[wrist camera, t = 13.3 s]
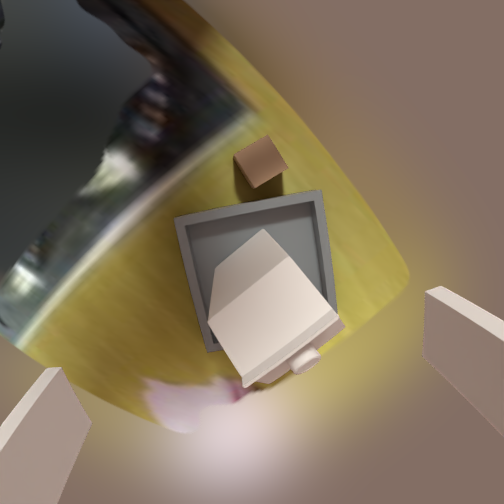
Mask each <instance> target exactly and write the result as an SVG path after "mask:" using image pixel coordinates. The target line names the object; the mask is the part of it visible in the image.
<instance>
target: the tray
mask: <svg viewBox="0 0 504 504" xmlns="http://www.w3.org/2000/svg"><path fill="white" fill-rule="evenodd" d="M174 223H175V228H176V232H177V237H178V241H179V245H180V250H181V254H182V258H183V262H184V267H185V271H186V275H187V279H188V283H189V287H190V291H191V295H192V299H193V302H194V306H195V310H196V314H197V317H198V321H199V325H200V328H201V332H202V336H203V339H204V343H205V346H206V350H207V353H208V352H213V351H219V350H224V349H223V347H222V346H221V344H220V343H219V341H218V339H217V338H216V336H215V334H214V333H213V331H212V329H211V328H210V326H209V324H208V323H207V322H208V316H209V309H210V301H211V294H212V287H213V279H214V272H215V268H216V267H217V266H218V265H219V264H220V263H221V262H223V261H224V260H225V259H226V258H227V257H229V256H230V255H231V254H232V253H233V252H235V251H236V250H237V249H238V248H240V247H241V246H242V245H243V244H244V243H246V242H247V241H248V240H249V239H250V238H252V237H253V236H254V235H255V234H256V233H258V232H259V231H260V230H262V229H265V230H266V231H267V233H268V234H269V235H270V236H271V237H272V238H273V239H274V240H275V241H276V242H277V243H278V244H279V245H280V247H281V248H282V249H283V250H284V251H285V252H286V253H287V254H288V255H289V256H290V257H291V259H292V260H293V261H294V262H295V263H296V265H297V266H298V267H299V268H300V269H301V271H302V272H303V273H304V274H305V275H306V277H307V278H308V279H309V280H310V282H311V283H312V284H313V285H314V286H315V288H316V289H317V290H318V291H319V293H320V294H321V295H322V296H323V298H324V299H325V300H326V301H327V302H328V304H329V305H330V306H331V307H332V309H333V310H334V311H335V312H336V313H337V303H336V293H335V284H334V275H333V267H332V259H331V251H330V244H329V237H328V230H327V223H326V216H325V210H324V203H323V197H322V191H321V190H311V191H305V192H299V193H294V194H288V195H282V196H277V197H271V198H266V199H260V200H255V201H250V202H245V203H240V204H234V205H229V206H224V207H220V208H215V209H210V210H205V211H200V212H196V213H191V214H186V215H182V216H177V217H175V218H174ZM337 314H338V313H337Z"/></svg>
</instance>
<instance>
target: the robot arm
mask: <svg viewBox="0 0 504 504" xmlns="http://www.w3.org/2000/svg"><path fill="white" fill-rule="evenodd" d="M424 318H425V319H424V338H423V353H422V357H424V358H425V359H426V360H427V361H428V362H429V363H430V364H431V365H432V366H433V367H434V368H435V369H436V370H437V371H438V372H439V373H440V374H441V375H442V376H443V377H444V378H445V379H447V381H448V382H449V383H451V384H452V386H454V387H455V388H456V389H457V390H458V391H459V392H460V393H461V394H462V395H463V396H464V397H465V398H466V399H467V400H468V401H469V402H470V403H471V404H472V405H473V406H474V407H475V408H476V409H477V410H478V411H479V412H480V413H481V414H482V415H483V416H484V417H485V418H486V420H487V421H488V422H489V423H490V424H491V425H492V426H493V427H494V428H495V429H496V430H497V431H498V432H499V433H500V434H501V435H502V436H503V437H504V321H503V320H501V319H499V318H498V317H496V316H494V315H492V314H491V313H489V312H487V311H486V310H484V309H482V308H480V307H478V306H477V305H475V304H473V303H471V302H470V301H468V300H466V299H464V298H462V297H461V296H459V295H457V294H455V293H453V292H452V291H450V290H448V289H446V288H444V287H442V286H439V287H436V288H433V289H431V290H428V291H425V317H424ZM91 425H92V422H91V420H90V419H89V417H88V415H87V414H86V412H85V410H84V409H83V407H82V405H81V403H80V401H79V400H78V398H77V397H76V394H75V392H74V391H73V389H72V387H71V385H70V383H69V381H68V379H67V377H66V375H65V373H64V371H63V369H62V367H55V368H46V369H45V371H44V372H43V373H42V374H41V375H40V377H39V378H38V379H37V380H36V382H35V383H34V384H33V385H32V387H31V388H30V389H29V390H28V392H27V393H26V394H25V395H24V397H23V398H22V399H21V400H20V402H19V403H18V404H17V406H16V407H15V408H14V409H13V411H12V412H11V413H10V415H9V416H8V417H7V419H6V420H5V421H4V423H3V424H2V425H1V427H0V504H57V503H58V501H59V498H60V496H61V493H62V491H63V488H64V485H65V483H66V481H67V479H68V476H69V474H70V472H71V469H72V467H73V465H74V463H75V460H76V458H77V455H78V453H79V451H80V449H81V447H82V444H83V442H84V440H85V438H86V436H87V434H88V431H89V429H90V427H91Z"/></svg>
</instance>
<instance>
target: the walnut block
mask: <svg viewBox="0 0 504 504" xmlns="http://www.w3.org/2000/svg"><path fill="white" fill-rule="evenodd" d="M233 159H234V161H235V162H236V164H237V165H238V167H239V169H240V170H241V172H242V173H243V175H244V177H245V178H246V180H247V181H248V183H249V185H250V186H251V188H256V187H258V186H259V185H261V184H263V183H264V182H266V181H268V180H269V179H271V178H273V177H274V176H276V175H278V174H279V173H281V172H283V171H284V170H286V169H288V166H287V165H286V163H285V161H284V160H283V158H282V156H281V155H280V153H279V152H278V150H277V148H276V147H275V145H274V144H273V142H272V140H271V139H270V137H269V136H268V135H266V136H265V137H263V138H261V139H259V140H258V141H256V142H254V143H252V144H251V145H249V146H247V147H246V148H244V149H242V150H241V151H239V152H237V153H236V154H234V156H233Z"/></svg>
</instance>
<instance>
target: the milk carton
mask: <svg viewBox="0 0 504 504" xmlns="http://www.w3.org/2000/svg"><path fill="white" fill-rule="evenodd" d="M207 323H208V324H209V326H210V328H211V329H212V331H213V333H214V334H215V336H216V338H217V339H218V341H219V343H220V344H221V346H222V347H223V349H224V351H225V352H226V354H227V355H228V357H229V359H230V360H231V362H232V363H233V365H234V366H235V368H236V370H237V371H238V373H239V374H240V376H241V377H242V386H243V387H244V388H247V387H248V386H249V385H251V384H252V383H254V382H255V381H256V382H261V383H267V384H270V383H272V382H273V381H275V380H276V379H278V378H279V377H281V376H282V375H284V374H285V373H286V372H288V371H289V370H290V369H291V370H292V371H293V373H294V374H301V373H304V372H306V371H308V370H309V369H311V368H312V367H313V366H315V365H316V364H317V363H318V362H319V360H320V359H321V355H320V354H319V353H318V351H317V349H319V348H320V347H321V346H322V345H324V344H325V343H326V342H328V341H329V340H330V339H331V338H333V337H334V336H335V335H336V334H338V333H339V332H340V331H341V330H342V329H344V328H345V325H344V324H343V323H342V321H341V320H340V318H339V316H338V314H337V313H336V312H335V311H334V310H333V309H332V307H331V306H330V305H329V304H328V302H327V301H326V300H325V299H324V298H323V296H322V295H321V294H320V293H319V291H318V290H317V289H316V288H315V286H314V285H313V284H312V283H311V282H310V280H309V279H308V278H307V277H306V275H305V274H304V273H303V272H302V271H301V269H300V268H299V267H298V266H297V265H296V263H295V262H294V261H293V260H292V259H291V257H290V256H289V255H288V254H287V253H286V252H285V251H284V250H283V249H282V248H281V247H280V245H279V244H278V243H277V242H276V241H275V240H274V239H273V238H272V237H271V236H270V235H269V234H268V233H267V231H266V230H265V229H262V230H260V231H259V232H258V233H256V234H255V235H254V236H253V237H252V238H250V239H249V240H248V241H247V242H246V243H244V244H243V245H242V246H241V247H240V248H238V249H237V250H236V251H235V252H233V253H232V254H231V255H230V256H229V257H227V258H226V259H225V260H224V261H223V262H221V263H220V264H219V265H218V266H217V267H216V268H215V272H214V279H213V287H212V294H211V301H210V309H209V316H208V322H207Z"/></svg>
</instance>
